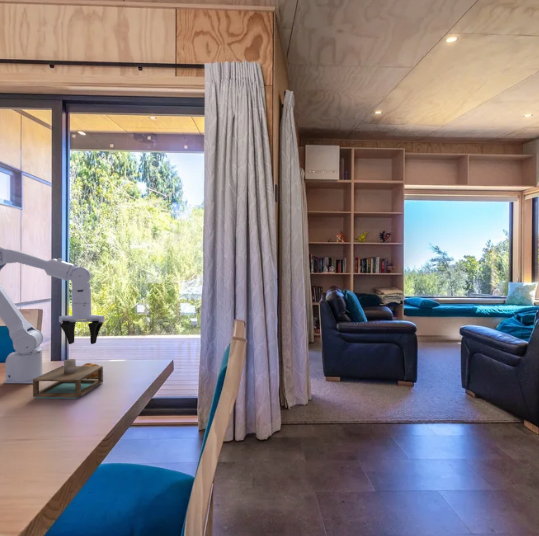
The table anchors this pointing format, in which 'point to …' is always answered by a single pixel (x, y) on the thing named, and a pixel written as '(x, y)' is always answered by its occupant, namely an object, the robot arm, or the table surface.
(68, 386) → the mat
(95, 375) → the pastry
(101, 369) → the cover
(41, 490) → the table surface
